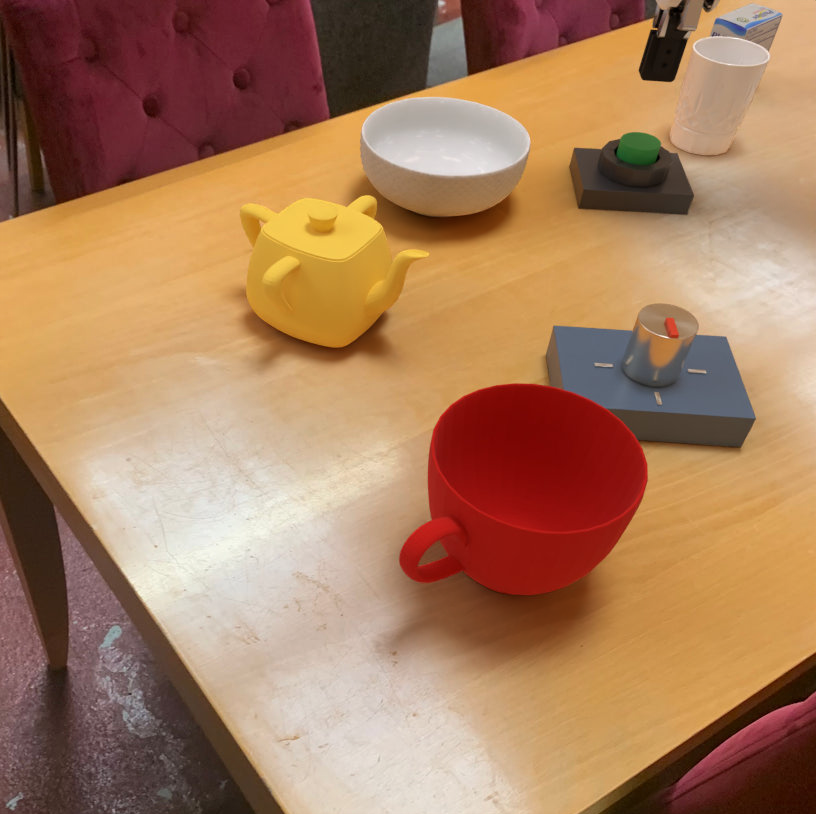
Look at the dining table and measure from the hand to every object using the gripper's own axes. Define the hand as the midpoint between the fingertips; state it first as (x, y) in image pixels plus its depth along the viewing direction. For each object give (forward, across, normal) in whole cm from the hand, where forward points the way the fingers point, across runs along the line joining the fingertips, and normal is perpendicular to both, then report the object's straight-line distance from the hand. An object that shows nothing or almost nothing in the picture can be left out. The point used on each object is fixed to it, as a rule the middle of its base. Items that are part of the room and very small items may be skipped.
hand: (655, 77), depth 86 cm
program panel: (+12, +34, -3) cm, 36 cm away
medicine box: (+12, -27, +17) cm, 34 cm away
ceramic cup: (+12, +53, -16) cm, 57 cm away
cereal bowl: (+12, +4, -19) cm, 23 cm away
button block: (+12, 0, +1) cm, 12 cm away
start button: (+8, 0, +1) cm, 8 cm away
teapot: (+12, +26, -29) cm, 41 cm away
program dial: (+8, +34, -3) cm, 35 cm away
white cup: (+12, -12, +11) cm, 20 cm away
